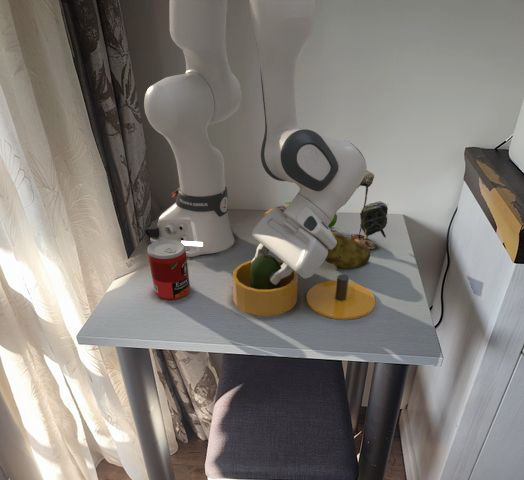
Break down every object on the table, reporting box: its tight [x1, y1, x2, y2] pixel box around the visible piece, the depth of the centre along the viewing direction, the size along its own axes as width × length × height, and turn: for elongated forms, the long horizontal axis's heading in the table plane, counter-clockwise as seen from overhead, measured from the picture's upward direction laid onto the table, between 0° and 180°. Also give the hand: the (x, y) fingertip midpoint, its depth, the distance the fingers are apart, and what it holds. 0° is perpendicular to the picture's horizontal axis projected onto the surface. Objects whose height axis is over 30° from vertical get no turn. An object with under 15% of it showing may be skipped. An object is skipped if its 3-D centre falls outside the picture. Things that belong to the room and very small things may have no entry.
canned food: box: [147, 240, 191, 301], centre depth 100 cm, size 8×8×11 cm
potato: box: [324, 231, 371, 269], centre depth 110 cm, size 8×13×8 cm, turn 74°
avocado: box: [250, 253, 281, 290], centre depth 97 cm, size 6×6×10 cm
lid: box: [305, 274, 376, 321], centre depth 98 cm, size 15×15×6 cm
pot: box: [231, 259, 299, 317], centre depth 99 cm, size 14×14×6 cm
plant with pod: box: [348, 169, 389, 250], centre depth 114 cm, size 8×11×20 cm
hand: (262, 274), depth 96 cm, fingers closed on avocado, 6 cm apart
